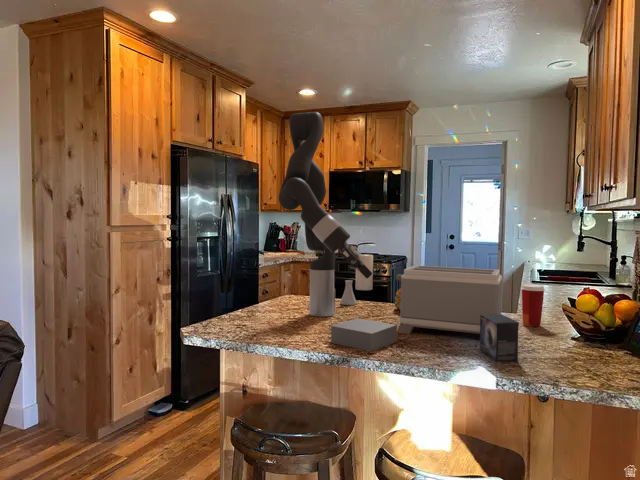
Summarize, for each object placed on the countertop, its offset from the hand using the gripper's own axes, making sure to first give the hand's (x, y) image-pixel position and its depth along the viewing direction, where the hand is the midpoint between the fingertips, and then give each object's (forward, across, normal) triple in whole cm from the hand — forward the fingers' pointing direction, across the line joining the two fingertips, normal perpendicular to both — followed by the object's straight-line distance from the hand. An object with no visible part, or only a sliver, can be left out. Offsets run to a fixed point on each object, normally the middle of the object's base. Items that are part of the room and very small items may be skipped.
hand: (370, 274), depth 139 cm
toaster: (+31, +21, -2) cm, 37 cm away
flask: (+5, +61, +24) cm, 66 cm away
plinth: (+13, 0, +15) cm, 20 cm away
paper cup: (+52, +37, -24) cm, 68 cm away
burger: (+23, +53, +6) cm, 58 cm away
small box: (+39, -6, -10) cm, 41 cm away
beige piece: (+2, 0, +4) cm, 5 cm away
